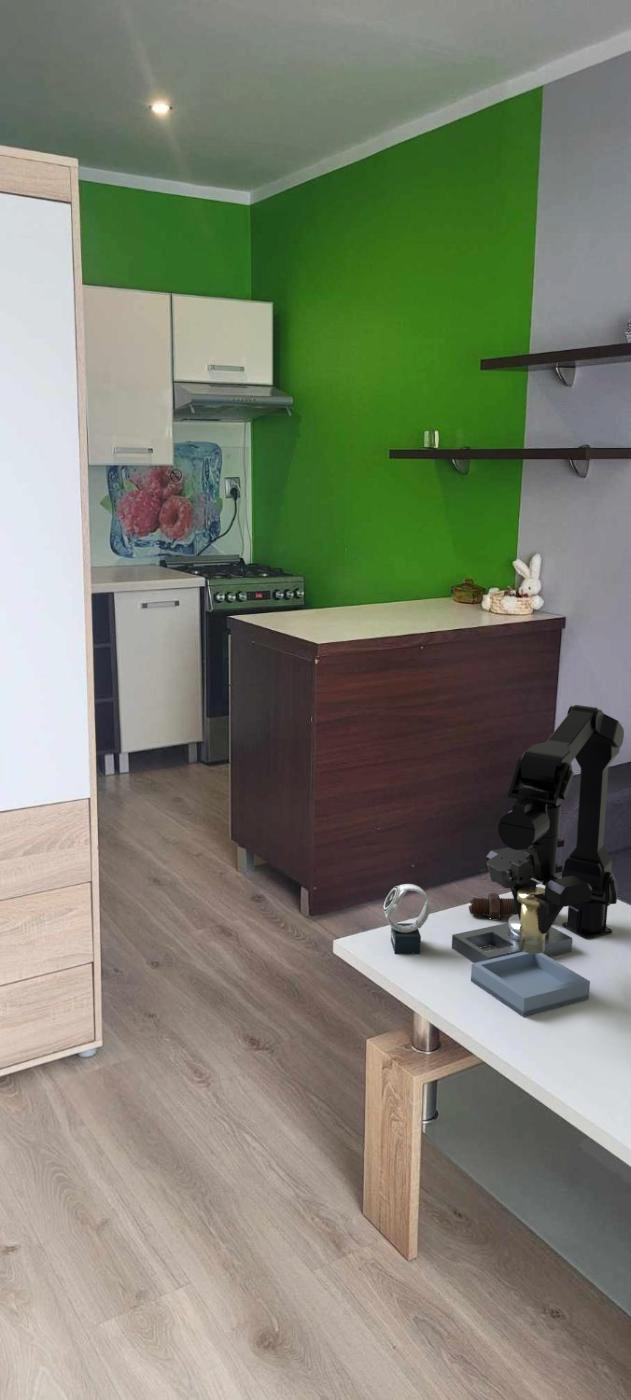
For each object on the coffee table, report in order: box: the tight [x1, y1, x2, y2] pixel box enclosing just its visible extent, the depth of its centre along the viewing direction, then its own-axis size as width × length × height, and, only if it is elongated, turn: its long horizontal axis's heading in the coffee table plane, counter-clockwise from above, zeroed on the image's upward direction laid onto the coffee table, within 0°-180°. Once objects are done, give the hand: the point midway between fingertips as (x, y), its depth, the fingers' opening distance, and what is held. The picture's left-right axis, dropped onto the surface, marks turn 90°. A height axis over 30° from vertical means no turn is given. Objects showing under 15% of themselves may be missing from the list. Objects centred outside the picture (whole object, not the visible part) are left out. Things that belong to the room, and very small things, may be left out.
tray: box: [470, 952, 591, 1017], centre depth 168 cm, size 13×13×3 cm
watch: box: [382, 883, 431, 955], centre depth 182 cm, size 6×8×11 cm
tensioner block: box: [451, 914, 573, 964], centre depth 182 cm, size 18×10×6 cm, turn 119°
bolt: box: [468, 892, 518, 920], centre depth 196 cm, size 6×5×15 cm
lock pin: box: [517, 886, 546, 954], centre depth 166 cm, size 5×5×9 cm
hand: (533, 927), depth 166 cm, fingers closed on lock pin, 5 cm apart
